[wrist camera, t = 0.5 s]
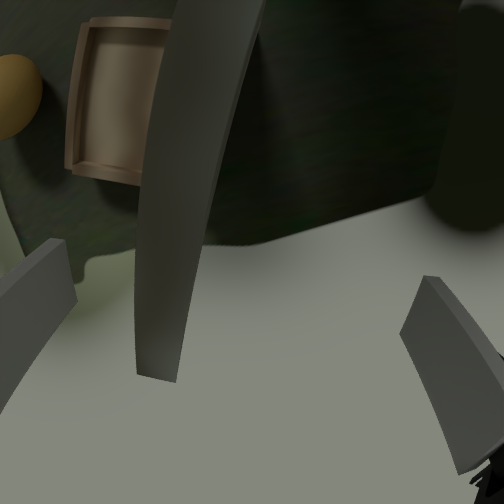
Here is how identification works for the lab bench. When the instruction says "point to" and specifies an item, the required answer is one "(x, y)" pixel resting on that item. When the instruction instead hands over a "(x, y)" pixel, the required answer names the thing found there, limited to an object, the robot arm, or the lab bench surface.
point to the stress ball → (18, 93)
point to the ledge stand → (161, 143)
